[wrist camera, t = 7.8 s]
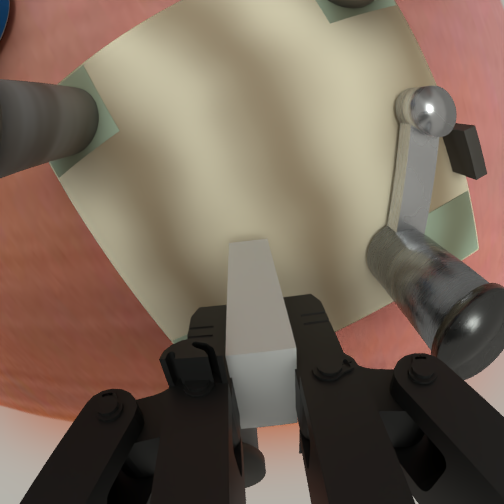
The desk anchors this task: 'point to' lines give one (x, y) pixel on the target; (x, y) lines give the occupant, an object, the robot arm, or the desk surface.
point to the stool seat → (242, 152)
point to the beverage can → (3, 15)
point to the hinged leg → (433, 249)
